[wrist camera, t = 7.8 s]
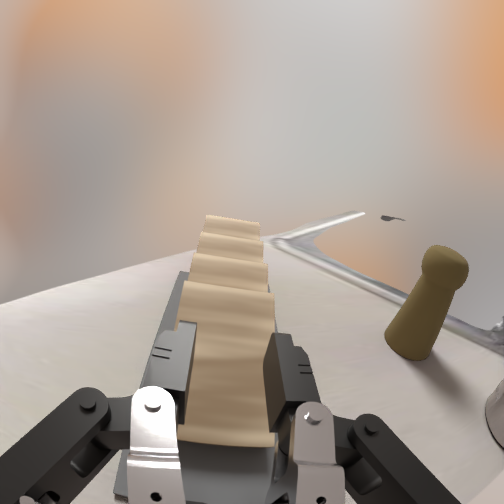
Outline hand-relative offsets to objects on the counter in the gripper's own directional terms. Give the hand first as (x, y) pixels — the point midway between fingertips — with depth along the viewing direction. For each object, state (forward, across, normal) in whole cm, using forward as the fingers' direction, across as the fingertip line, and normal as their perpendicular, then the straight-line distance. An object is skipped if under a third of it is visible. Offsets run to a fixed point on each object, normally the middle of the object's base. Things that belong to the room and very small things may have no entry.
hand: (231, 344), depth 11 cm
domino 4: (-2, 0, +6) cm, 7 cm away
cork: (+10, -20, +8) cm, 23 cm away
